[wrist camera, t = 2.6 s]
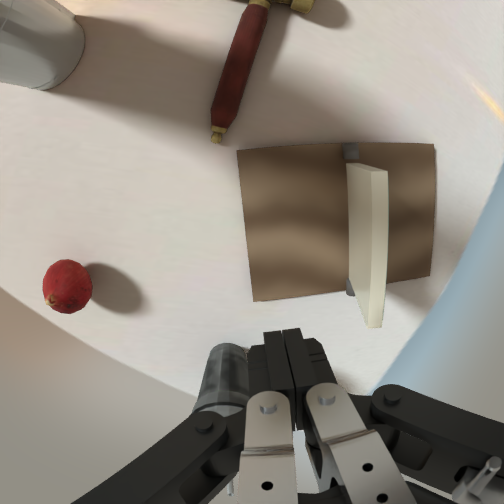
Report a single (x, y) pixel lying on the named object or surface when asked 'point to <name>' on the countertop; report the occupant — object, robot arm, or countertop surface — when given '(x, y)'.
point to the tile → (368, 238)
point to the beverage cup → (224, 384)
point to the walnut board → (330, 214)
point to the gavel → (243, 61)
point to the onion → (67, 286)
